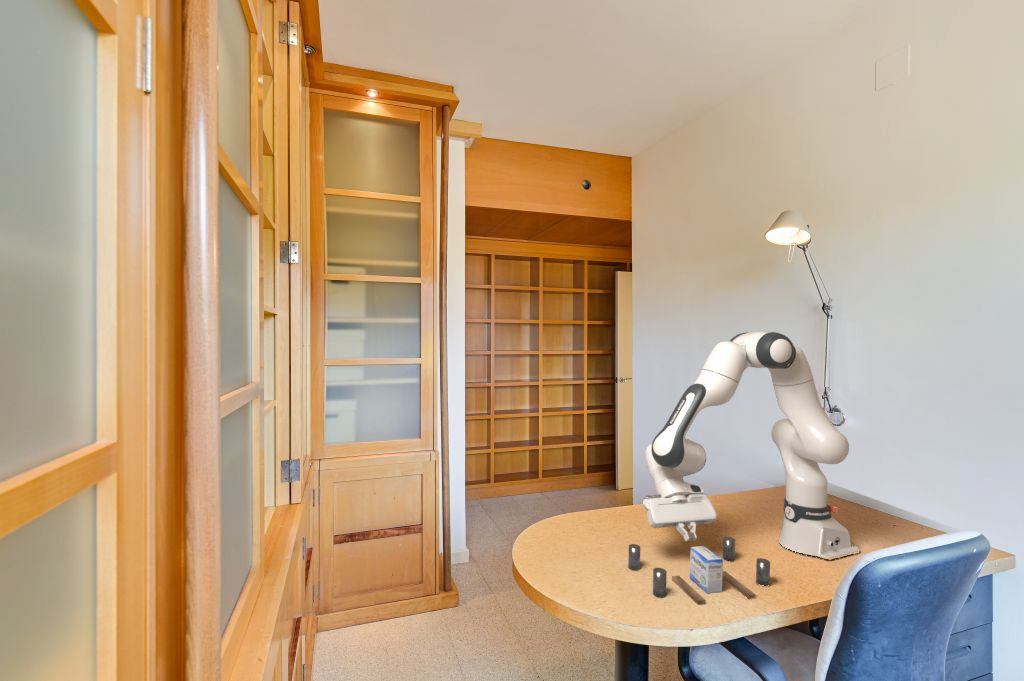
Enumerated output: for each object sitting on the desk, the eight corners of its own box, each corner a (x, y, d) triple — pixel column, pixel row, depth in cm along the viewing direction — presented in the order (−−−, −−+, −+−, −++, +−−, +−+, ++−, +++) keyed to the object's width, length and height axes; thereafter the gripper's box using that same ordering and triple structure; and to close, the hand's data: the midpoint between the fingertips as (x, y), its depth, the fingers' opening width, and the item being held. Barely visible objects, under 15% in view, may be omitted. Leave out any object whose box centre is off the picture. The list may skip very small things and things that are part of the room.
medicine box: (689, 578, 131) (689, 546, 130) (703, 577, 132) (704, 545, 131) (707, 594, 123) (708, 560, 123) (722, 592, 124) (723, 558, 124)
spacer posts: (729, 556, 144) (730, 536, 144) (772, 586, 127) (773, 563, 127) (626, 565, 137) (626, 544, 137) (656, 598, 120) (657, 574, 120)
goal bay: (724, 574, 133) (725, 571, 133) (755, 598, 121) (755, 594, 121) (671, 579, 130) (672, 576, 130) (698, 604, 118) (698, 600, 118)
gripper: (644, 490, 140) (661, 538, 131) (707, 486, 145) (728, 532, 135) (637, 500, 145) (653, 547, 135) (698, 496, 149) (718, 541, 140)
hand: (691, 540), depth 135 cm, fingers closed
